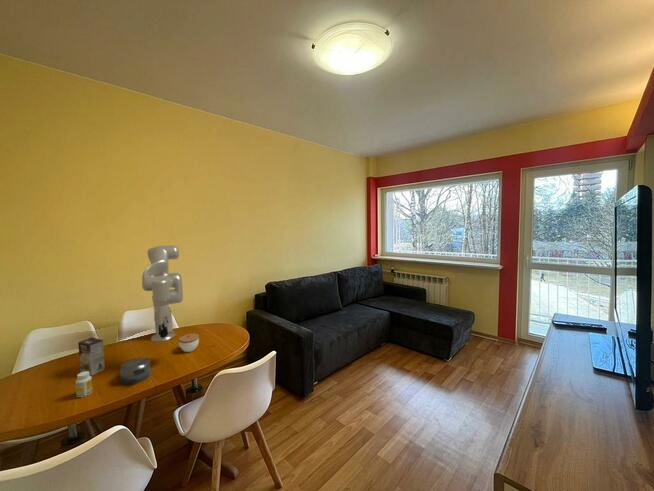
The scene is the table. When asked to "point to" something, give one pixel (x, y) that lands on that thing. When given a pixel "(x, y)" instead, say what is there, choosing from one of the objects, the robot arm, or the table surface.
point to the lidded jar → (189, 342)
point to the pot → (135, 370)
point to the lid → (159, 339)
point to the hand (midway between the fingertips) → (163, 334)
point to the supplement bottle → (83, 384)
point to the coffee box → (91, 355)
